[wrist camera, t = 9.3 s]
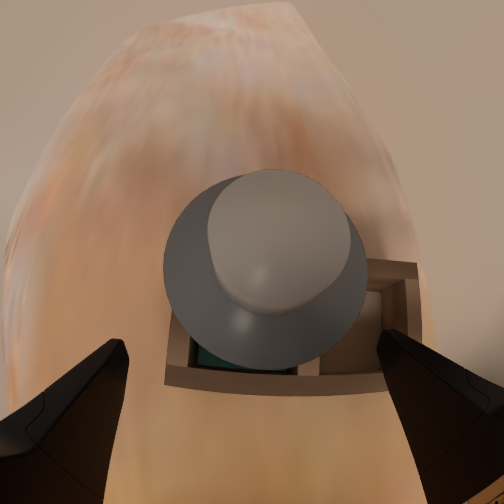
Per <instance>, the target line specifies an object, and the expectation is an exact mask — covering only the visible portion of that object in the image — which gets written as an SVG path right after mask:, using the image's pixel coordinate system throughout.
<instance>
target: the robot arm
mask: <svg viewBox="0 0 504 504" xmlns="http://www.w3.org/2000/svg"><path fill="white" fill-rule="evenodd" d="M376 351H377V355H378V358H379V361H380V365H381V368H382V372H383V375H384V379H385V382H386V385H387V388H388V390H389V393H390V395H391V398H392V400H393V403H394V406H395V408H396V411H397V413H398V416H399V419H400V421H401V424H402V427H403V429H404V432H405V435H406V437H407V440H408V443H409V446H410V449H411V452H412V455H413V458H414V461H415V464H416V467H417V470H418V473H419V476H420V480H421V483H422V486H423V490H424V493H425V496H426V500H427V503H428V504H463V503H464V502H466V501H467V502H468V504H504V388H503V387H501V386H498V385H496V384H494V383H492V382H490V381H488V380H486V379H484V378H482V377H479V376H478V375H476V374H474V373H472V372H471V371H469V370H467V369H465V368H464V367H462V366H460V365H458V364H457V363H455V362H453V361H451V360H449V359H448V358H446V357H444V356H442V355H441V354H439V353H437V352H435V351H434V350H432V349H430V348H428V347H426V346H425V345H423V344H421V343H419V342H418V341H416V340H414V339H412V338H410V337H409V336H407V335H405V334H403V333H402V332H400V331H398V330H396V329H394V328H387V329H384V330H382V332H381V335H380V338H379V341H378V344H377V348H376ZM128 367H129V356H128V353H127V350H126V347H125V344H124V341H123V340H122V339H110V340H109V341H107V342H106V343H105V344H103V345H102V346H101V347H99V348H98V349H97V350H95V351H94V352H93V353H92V354H90V355H89V356H88V357H86V358H85V359H84V360H82V361H81V362H80V363H79V364H77V365H76V366H75V367H73V368H72V369H71V370H70V371H68V372H67V373H66V374H64V375H63V376H62V377H61V378H59V379H58V380H57V381H55V382H54V383H53V384H52V385H50V386H49V387H48V388H47V389H45V390H44V392H41V393H40V394H39V395H38V396H36V397H35V398H34V399H32V400H31V401H30V402H28V403H27V404H26V405H24V406H23V407H21V408H20V409H18V410H17V411H15V412H14V413H12V414H11V415H9V416H8V417H6V418H4V419H3V420H1V421H0V504H103V499H104V493H105V487H106V481H107V475H108V469H109V464H110V459H111V454H112V449H113V444H114V439H115V435H116V430H117V426H118V422H119V417H120V413H121V409H122V405H123V401H124V395H125V387H126V380H127V374H128Z"/></svg>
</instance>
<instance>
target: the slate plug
mask: <svg viewBox="0 0 504 504" xmlns="http://www.w3.org/2000/svg"><path fill="white" fill-rule="evenodd" d="M163 273H164V283H165V288H166V293H167V296H168V299H169V302H170V305H171V307H172V309H173V311H174V313H175V315H176V317H177V319H178V321H179V322H180V323H181V325H182V326H183V327H184V329H185V330H186V331H187V333H188V334H189V335H190V336H191V337H192V338H193V339H194V340H195V341H196V342H197V343H198V344H200V345H201V346H202V347H204V348H205V349H206V350H207V351H209V352H210V353H212V354H214V355H216V356H217V357H219V358H221V359H223V360H225V361H228V362H230V363H233V364H236V365H239V366H243V367H247V368H252V369H262V370H275V369H285V368H290V367H295V366H299V365H301V364H304V363H307V362H310V361H312V360H314V359H316V358H318V357H320V356H321V355H323V354H325V353H326V352H327V351H329V350H330V349H332V348H333V347H334V346H335V345H336V344H337V343H338V342H339V341H340V340H341V339H343V338H344V336H345V335H346V334H347V333H348V331H349V330H350V329H351V327H352V326H353V324H354V323H355V321H356V319H357V317H358V315H359V313H360V311H361V308H362V305H363V303H364V299H365V295H366V291H367V281H368V268H367V260H366V254H365V250H364V247H363V244H362V241H361V238H360V236H359V234H358V232H357V230H356V228H355V226H354V225H353V223H352V221H351V220H350V218H349V217H348V216H347V214H346V213H345V212H344V210H343V209H342V208H341V206H340V204H339V203H338V201H337V200H336V199H335V198H334V196H333V195H332V194H331V193H330V192H329V191H328V190H327V189H326V188H324V187H323V186H322V185H321V184H319V183H318V182H316V181H314V180H313V179H311V178H309V177H307V176H304V175H302V174H299V173H296V172H292V171H287V170H278V169H270V170H261V171H256V172H253V173H249V174H247V175H242V176H237V177H233V178H230V179H227V180H224V181H222V182H220V183H218V184H216V185H213V186H212V187H210V188H208V189H207V190H205V191H204V192H202V193H201V194H200V195H199V196H197V197H196V198H195V199H194V200H193V201H192V202H191V203H190V204H189V205H188V206H187V207H186V208H185V209H184V210H183V212H182V213H181V215H180V216H179V217H178V219H177V220H176V222H175V224H174V226H173V228H172V230H171V232H170V235H169V238H168V241H167V244H166V249H165V253H164V263H163Z"/></svg>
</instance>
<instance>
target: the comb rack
mask: <svg viewBox="0 0 504 504" xmlns="http://www.w3.org/2000/svg"><path fill="white" fill-rule="evenodd" d="M366 260H367V268H368V281H367V291H375V292H382V319H383V330H384V329H387V328H394V329H396V330H398V331H400V332H402V333H403V334H405V335H407V336H409V337H410V338H412V339H414V340H416V341H418V342H419V343H421V344H422V319H421V301H420V289H419V278H418V269H417V263H412V262H401V261H390V260H379V259H368V258H366ZM197 350H198V360H197ZM196 361H197V365H206V366H215V367H225V368H236V369H250V370H262V369H252V368H247V367H243V366H239V365H236V364H233V363H230V362H228V361H225V360H223V359H221V358H219V357H217V356H216V355H214V354H212V353H210V352H209V351H207V350H206V349H205V348H204V347H202V346H201V345H200V344H199V349H198V343H197V342H196V341H195V340H194V339H193V338H192V337H191V336H190V335H189V334H188V333H187V331H186V330H185V329H184V327H183V326H182V325H181V323H180V322H179V321H178V319H177V317H176V315H175V313H174V311H173V309H172V314H171V322H170V330H169V339H168V348H167V359H166V369H165V381H164V385H168V386H174V387H181V388H188V389H195V390H203V391H212V392H221V393H232V394H245V395H263V396H332V395H350V394H363V393H374V392H383V391H389V390H388V388H387V385H386V382H385V379H384V375H383V372H382V370H378V371H362V372H339V373H319V363H320V357H318V358H316V359H314V360H312V361H310V362H307V363H304V364H301V365H299V366H295V367H290V368H287V373H285V372H261V371H245V370H233V369H222V368H212V367H203V366H196ZM267 371H286V368H285V369H275V370H267Z"/></svg>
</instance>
